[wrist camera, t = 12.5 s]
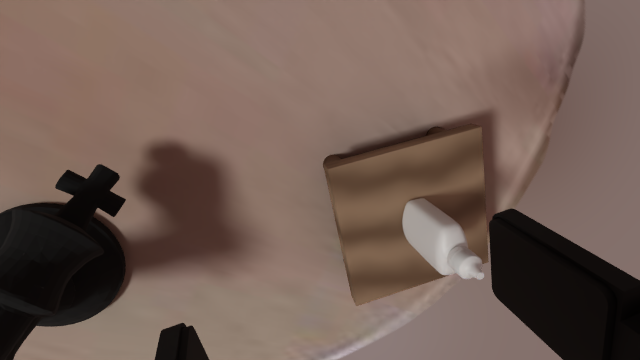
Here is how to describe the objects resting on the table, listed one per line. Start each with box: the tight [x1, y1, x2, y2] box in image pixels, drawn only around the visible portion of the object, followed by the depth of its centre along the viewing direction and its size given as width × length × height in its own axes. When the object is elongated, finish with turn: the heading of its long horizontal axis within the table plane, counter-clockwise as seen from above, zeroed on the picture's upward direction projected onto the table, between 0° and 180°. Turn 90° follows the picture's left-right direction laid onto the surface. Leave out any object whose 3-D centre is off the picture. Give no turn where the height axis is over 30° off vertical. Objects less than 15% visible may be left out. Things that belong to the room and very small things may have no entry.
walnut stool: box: [323, 124, 488, 306], centre depth 46 cm, size 18×18×7 cm
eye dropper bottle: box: [402, 198, 484, 280], centre depth 37 cm, size 4×6×12 cm
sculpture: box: [0, 164, 126, 360], centre depth 30 cm, size 15×24×25 cm, turn 142°
